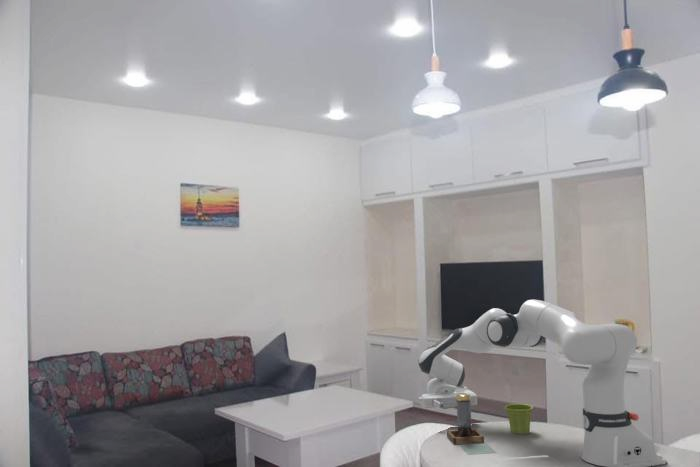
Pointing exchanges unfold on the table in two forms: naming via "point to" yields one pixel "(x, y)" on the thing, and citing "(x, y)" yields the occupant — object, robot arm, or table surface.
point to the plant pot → (519, 417)
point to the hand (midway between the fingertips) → (454, 404)
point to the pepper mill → (464, 415)
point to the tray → (475, 437)
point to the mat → (478, 449)
